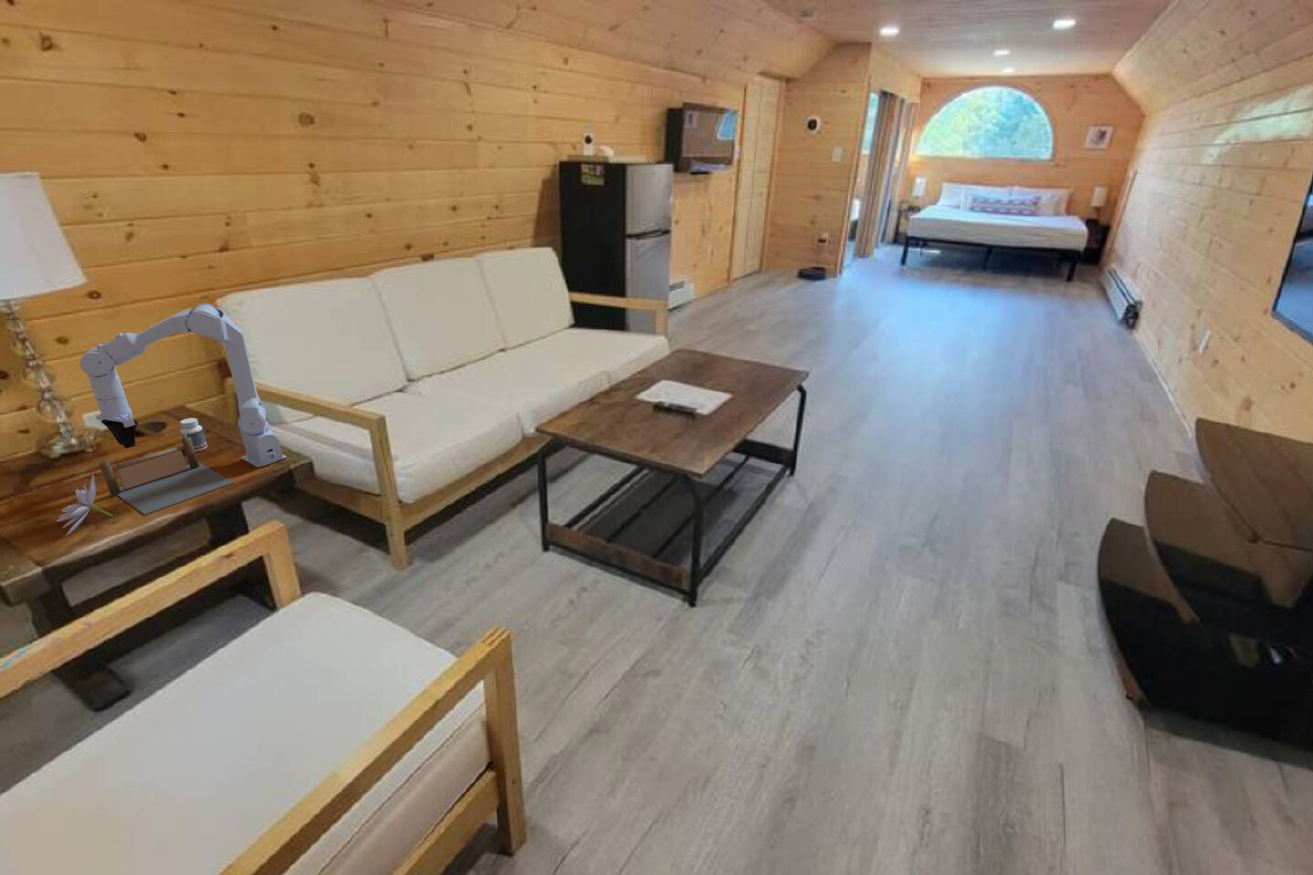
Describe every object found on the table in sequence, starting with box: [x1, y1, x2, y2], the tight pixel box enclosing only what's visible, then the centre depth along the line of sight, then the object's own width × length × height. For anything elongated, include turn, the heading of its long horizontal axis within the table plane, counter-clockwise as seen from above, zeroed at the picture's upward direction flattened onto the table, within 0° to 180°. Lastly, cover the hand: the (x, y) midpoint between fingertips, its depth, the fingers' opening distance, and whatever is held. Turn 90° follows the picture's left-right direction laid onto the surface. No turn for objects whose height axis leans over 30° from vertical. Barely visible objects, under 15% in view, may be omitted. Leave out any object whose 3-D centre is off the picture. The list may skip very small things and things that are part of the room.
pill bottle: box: [179, 417, 208, 453], centre depth 182 cm, size 5×5×9 cm
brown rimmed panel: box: [115, 446, 187, 489], centre depth 165 cm, size 14×1×7 cm, turn 147°
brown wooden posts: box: [98, 437, 199, 497], centre depth 164 cm, size 2×20×9 cm, turn 147°
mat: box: [117, 461, 235, 516], centre depth 164 cm, size 20×20×1 cm
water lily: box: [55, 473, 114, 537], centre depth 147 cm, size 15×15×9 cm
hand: (127, 445), depth 164 cm, fingers open, 3 cm apart
